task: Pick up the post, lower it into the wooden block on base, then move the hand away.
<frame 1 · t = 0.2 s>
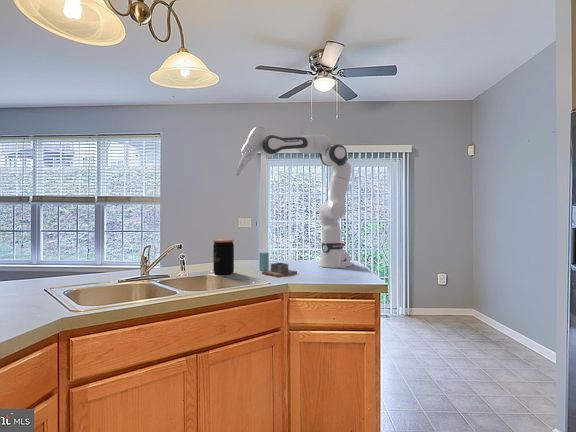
hand: (237, 174, 186), 54 cm above the worktop, tool tilted 25°, fingers open, 8 cm apart
coffee jar: (223, 273, 177), on the worktop
post: (264, 270, 185), on the worktop
wooden block on base: (279, 273, 176), on the worktop
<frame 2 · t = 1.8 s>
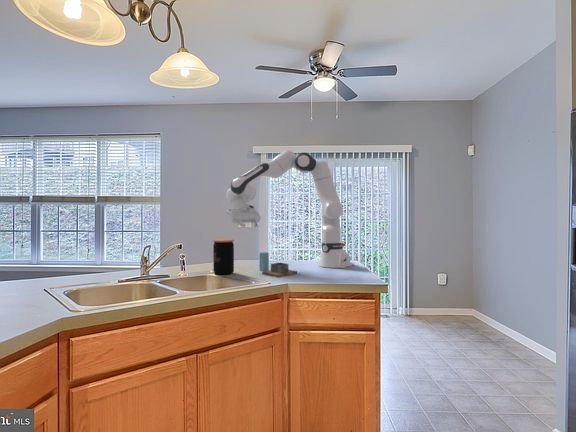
hand: (250, 226, 194), 24 cm above the worktop, tool tilted 45°, fingers open, 8 cm apart
nothing on the worktop moved.
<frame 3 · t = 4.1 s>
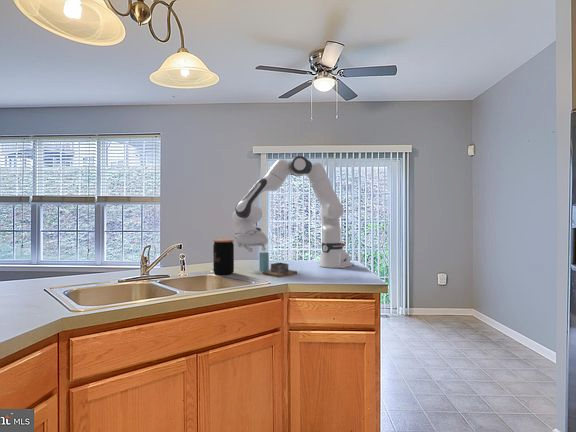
hand: (257, 250, 189), 11 cm above the worktop, tool tilted 45°, fingers open, 8 cm apart
nothing on the worktop moved.
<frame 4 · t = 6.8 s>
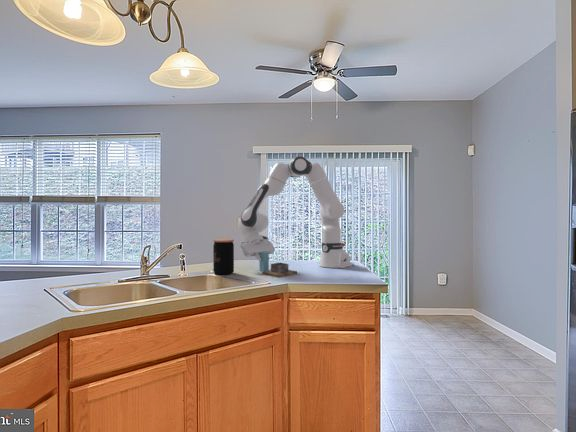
hand: (264, 260, 185), 6 cm above the worktop, tool tilted 45°, fingers closed on post, 4 cm apart
post: (264, 270, 185), on the worktop, touching gripper
everything else where it was.
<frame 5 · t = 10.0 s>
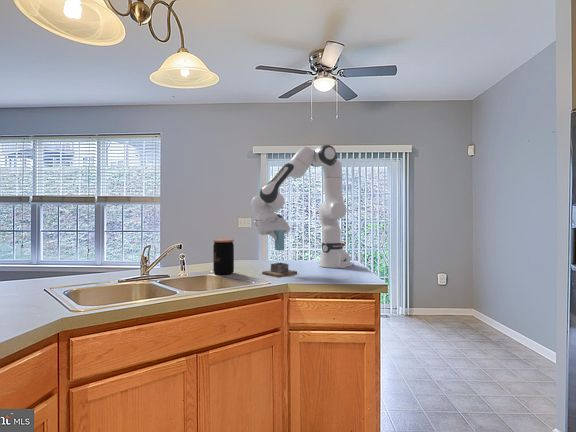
hand: (280, 238, 175), 19 cm above the worktop, tool tilted 45°, fingers closed on post, 4 cm apart
post: (279, 249, 176), point 13 cm above the worktop, touching gripper
everything else where it was.
when the fingers open (9 cm above the worktop, at t = 13.1 s): post drops 1 cm, resting on wooden block on base.
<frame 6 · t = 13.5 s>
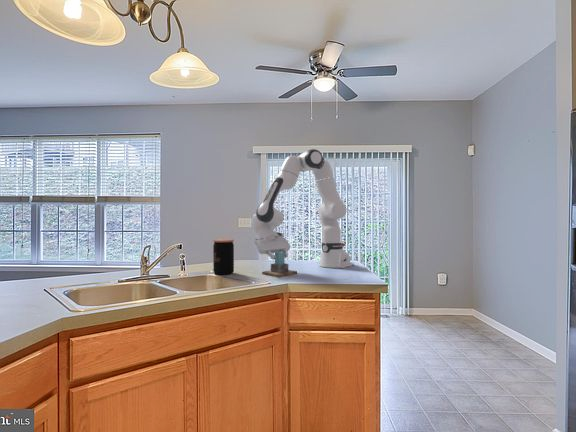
hand: (280, 257, 175), 9 cm above the worktop, tool tilted 45°, fingers open, 7 cm apart
post: (279, 271, 176), point 1 cm above the worktop, touching wooden block on base
everything else where it was.
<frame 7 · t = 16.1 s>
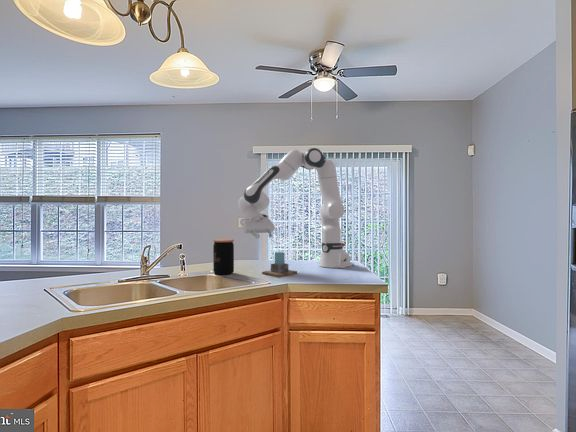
hand: (264, 237, 185), 19 cm above the worktop, tool tilted 45°, fingers open, 8 cm apart
nothing on the worktop moved.
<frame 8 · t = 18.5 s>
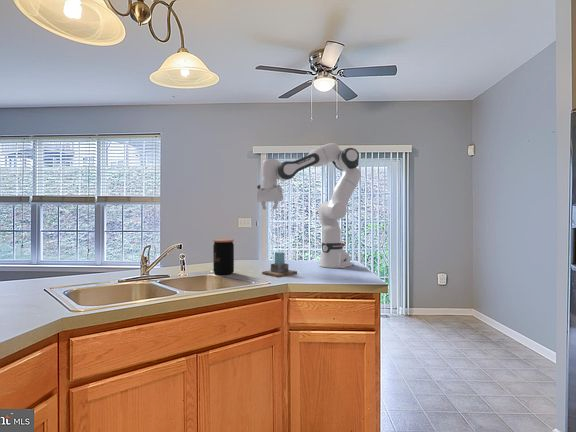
hand: (269, 209, 196), 34 cm above the worktop, tool pointing down, fingers open, 8 cm apart
nothing on the worktop moved.
at the end: post 0.1 cm off-centre on the wooden block on base, point 1.2 cm above the wooden block on base's base; post tilted 0°; the gripper is holding nothing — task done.
